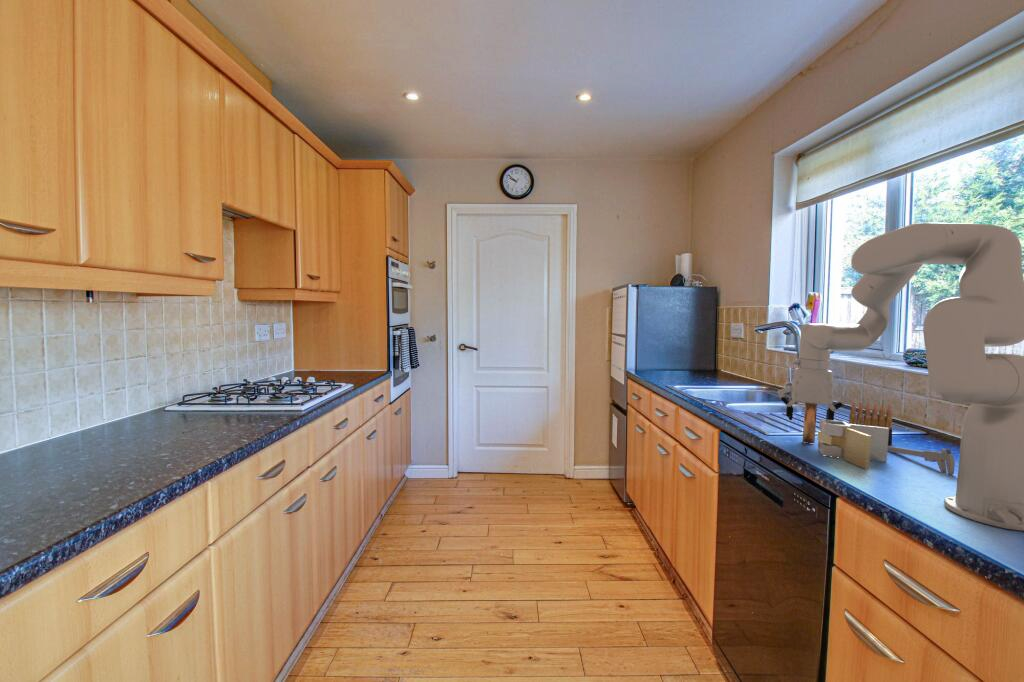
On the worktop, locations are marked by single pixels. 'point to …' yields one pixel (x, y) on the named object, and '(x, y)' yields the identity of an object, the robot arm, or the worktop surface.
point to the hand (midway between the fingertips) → (808, 421)
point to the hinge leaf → (851, 446)
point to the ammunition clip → (872, 418)
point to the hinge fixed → (839, 427)
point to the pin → (809, 422)
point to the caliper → (931, 457)
